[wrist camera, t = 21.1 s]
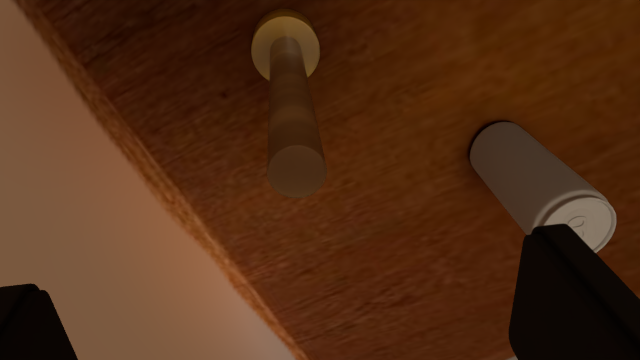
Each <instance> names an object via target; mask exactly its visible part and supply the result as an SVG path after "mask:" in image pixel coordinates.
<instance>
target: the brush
mask: <svg viewBox="0 0 640 360" xmlns="http://www.w3.org/2000/svg"><path fill="white" fill-rule="evenodd" d="M251 55H252V60H253V63H254V65H255V67H256V69H257V70H258V72H259V73H260V74H261V75H262V76H263V77H264V78H266V79H267V80H269V115H268V154H267V176H268V180H269V182H270V184H271V186H272V187H273V188H274V189H275V190H276V191H277V192H278V193H280V194H281V195H284V196H286V197H290V198H303V197H306V196H309V195H311V194H313V193H315V192H316V191H317V190H318V189H319V188H320V187H321V186H322V184H323V183H324V181H325V178H326V173H327V168H326V163H325V158H324V153H323V149H322V144H321V139H320V135H319V130H318V125H317V121H316V116H315V111H314V107H313V102H312V97H311V93H310V88H309V83H308V79H307V78H308V77H309V76H310V75H311V74H312V73H313V71H314V70H315V68H316V66H317V64H318V61H319V57H320V45H319V41H318V38H317V35H316V33H315V30H314V28H313V26H312V24H311V22H310V21H309V20H308V19H307V18H306V17H305V16H304V15H303V14H301V13H299V12H297V11H295V10H291V9H277V10H274V11H271V12H269V13H268V14H266V15H265V16H264V17H262V19H261V20H260V21H259V22H258V24H257V26H256V28H255V30H254V34H253V40H252V46H251Z"/></svg>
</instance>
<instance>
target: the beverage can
mask: <svg viewBox="0 0 640 360" xmlns="http://www.w3.org/2000/svg"><path fill="white" fill-rule="evenodd" d="M470 161H471V165H472V166H473V168H474V169H475V171H476V172H477V173H478V175H479V176H480V177H481V178H482V180H483V181H484V182H485V183H486V185H487V186H488V187H489V188H490V190H491V191H492V192H493V193H494V195H495V196H496V197H497V198H498V200H499V201H500V202H501V203H502V205H503V206H504V207H505V208H506V210H507V211H508V212H509V213H510V215H511V216H512V217H513V218H514V220H515V221H516V222H517V223H518V225H519V226H520V227H521V228H522V230H523V231H524V232H525V233H526V235H530V234H531V232H532V230H533V229H534V227H537V226H544V225H553V224H562V223H564V224H567V225H568V226H570V227H571V228H572V229H573V230H574V231H575V232H576V233H577V234H578V235H579V236H580V238H581V239H582V240H583V241H584V242H585V243H586V244H587V245H588V246H589V247H590V248H591V249H592V250H593V251H594V252H595V253H596V252H598V251H599V250H600V249H601V248H602V247H604V246H605V245H606V243H607V242H608V241H609V240H610V238H611V237H612V235H613V233H614V231H615V227H616V222H617V221H616V213H615V211H614V209H613V207H612V206H611V205H610V204H609V203H608V201H607V199H606V198H605V197H604V196H603V195H602V194H601V193H599V192H598V191H597V190H596V189H595V188H593V187H592V186H591V185H590V184H589V183H588V182H586V181H585V180H584V179H583V178H581V177H580V176H579V175H578V174H577V173H575V172H574V171H573V170H572V169H570V168H569V167H568V166H567V165H566V164H564V163H563V162H562V161H561V160H559V159H558V158H557V157H556V156H554V155H553V154H552V153H551V152H550V151H548V150H547V149H546V148H545V147H544V146H542V145H541V144H540V143H539V142H538V141H537V140H535V139H534V138H533V137H532V136H531V135H529V134H528V133H527V132H526V131H525V130H523V129H522V128H521V127H520V126H519V125H516V124H514V123H511V122H499V123H495V124H493V125H490V126H489V127H487V128H486V129H484V130H483V131H482V132H481V133H480V134H479V135H478V136H477V138H476V139H475V141H474V143H473V145H472V148H471V151H470Z"/></svg>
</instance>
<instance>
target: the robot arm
mask: <svg viewBox="0 0 640 360" xmlns="http://www.w3.org/2000/svg"><path fill="white" fill-rule="evenodd" d="M509 340H510V344H511V347H512V349H513V351H514V353H515V355H516V357H517V358H518V360H640V299H639V298H638V297H637V296H636V295H635V294H634V293H633V292H632V291H631V290H630V289H629V288H628V287H627V286H626V285H625V284H624V282H623V281H622V280H621V279H620V278H619V277H618V276H617V275H616V274H615V273H614V272H613V271H612V270H611V269H610V268H609V267H608V266H607V265H606V264H605V263H604V262H603V261H602V259H601V258H600V257H599V256H598V255H597V254H596V253H595V252H594V251H593V250H592V249H591V248H590V247H589V246H588V245H587V244H586V243H585V242H584V241H583V240H582V239H581V238H580V236H579V235H578V234H577V233H576V232H575V231H574V230H573V229H572V228H571V227H570V226H568V225H567V224H564V223H562V224H553V225H544V226H537V227H534V229H533V230H532V232H531V234H530V235H526V236H525V238H524V241H523V247H522V253H521V259H520V265H519V271H518V277H517V283H516V289H515V295H514V302H513V308H512V314H511V320H510V326H509ZM0 360H78V359H77V356H76V354H75V352H74V350H73V348H72V345H71V343H70V341H69V339H68V336H67V334H66V332H65V330H64V327H63V325H62V323H61V321H60V318H59V316H58V314H57V312H56V309H55V307H54V305H53V303H52V300H51V298H50V296H49V294H48V293H47V292H46V291H45V290H39V288H38V287H37V286H36V285H35V284H23V285H14V286H5V287H0Z"/></svg>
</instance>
